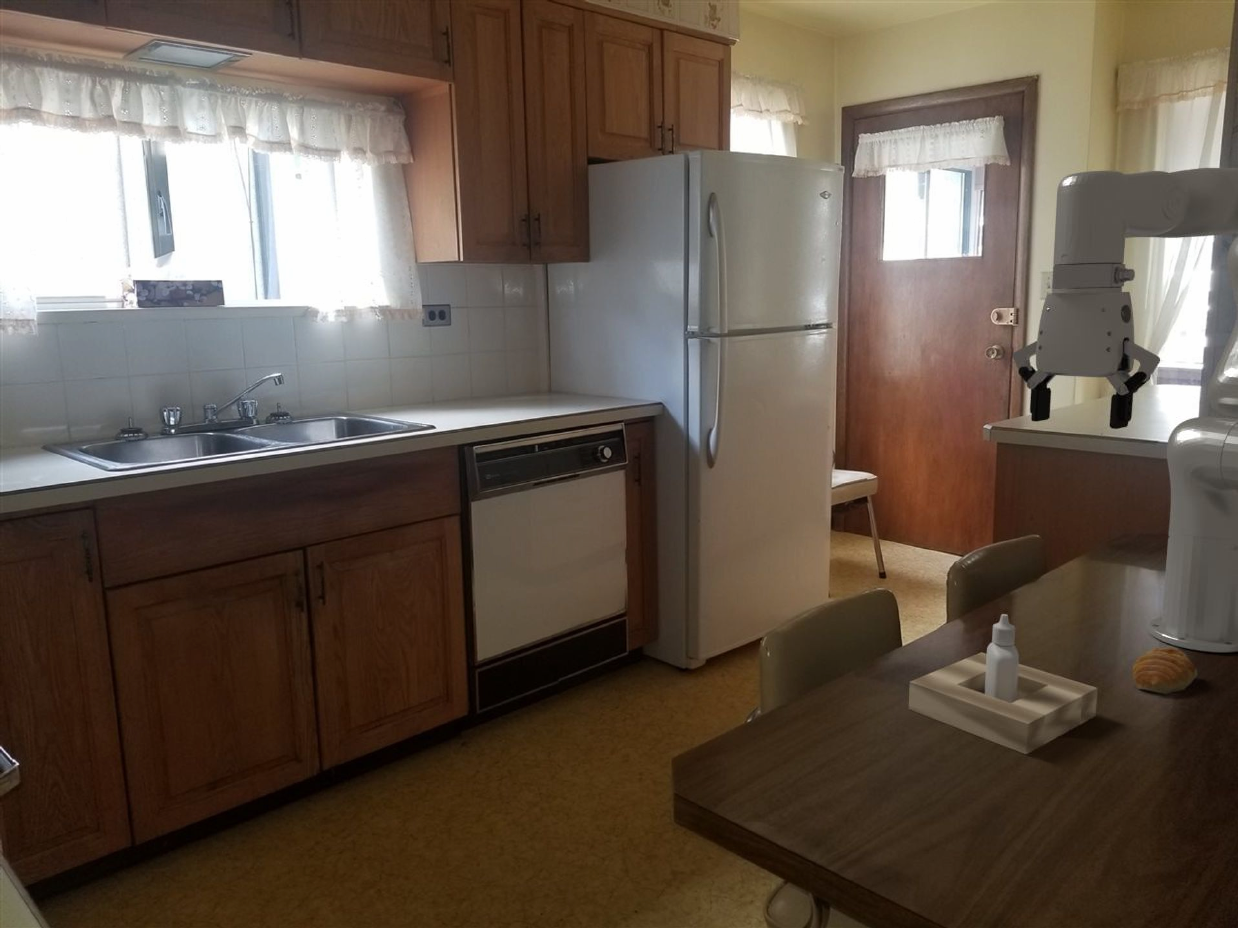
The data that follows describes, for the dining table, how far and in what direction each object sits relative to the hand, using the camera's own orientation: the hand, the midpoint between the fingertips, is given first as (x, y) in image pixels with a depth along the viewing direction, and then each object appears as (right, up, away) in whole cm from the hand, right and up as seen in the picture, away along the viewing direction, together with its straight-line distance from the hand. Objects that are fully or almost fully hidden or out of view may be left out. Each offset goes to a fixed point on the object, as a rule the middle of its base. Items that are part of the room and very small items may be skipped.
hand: (1078, 423), depth 116 cm
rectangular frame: (-10, -34, -3) cm, 36 cm away
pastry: (+13, -33, +6) cm, 36 cm away
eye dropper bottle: (-10, -35, -2) cm, 36 cm away
